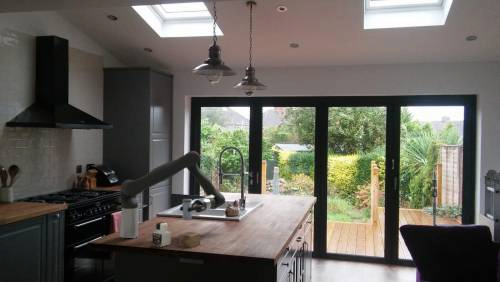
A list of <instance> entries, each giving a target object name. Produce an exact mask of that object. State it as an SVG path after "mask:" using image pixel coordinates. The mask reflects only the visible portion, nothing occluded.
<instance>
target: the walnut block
mask: <svg viewBox="0 0 500 282" xmlns="http://www.w3.org/2000/svg"><path fill="white" fill-rule="evenodd" d="M200 245H201V233H198V232H192V231H187V232H183V233H179V246H180V247H186V248H194V247H196V246H200Z"/></svg>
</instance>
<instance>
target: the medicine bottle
mask: <svg viewBox="0 0 500 282" xmlns="http://www.w3.org/2000/svg"><path fill="white" fill-rule="evenodd" d="M155 227H156V228H155V231H152V241H151V242H152V243H151V244H153V245H152V246H155V245H157V246H156V247H159V246H160V248H163V247H166V245H167V246H169V245H170V246H171V243H172V231H168V223H167V222H164V221H159V222H157V223H156V225H155ZM162 246H163V247H162Z"/></svg>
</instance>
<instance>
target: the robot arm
mask: <svg viewBox="0 0 500 282" xmlns="http://www.w3.org/2000/svg"><path fill="white" fill-rule="evenodd" d="M200 160H201V156H200V154H199V153H198V152H197V151H195V150H191V151H188V152H187V153H185V154H183V155H182V156H180V157H179V158H177V159H173V160H171V161H167V162H165V163H163V164H161V165H159V166H157V167H155V168H153V169H152V170H150V171H149V172H148V173H147V174H146V175H144V176H142V177H139V178H138V179H126V180H123V182H122V183H121V185H120V204H121V220H120V221H119V238H121V237H122V238H121V239H123V238H133V239H137V238H138V236H139V235H138V234H139V202H138V199H137V195H139V194H141V193H142V192H144V191H145V190H147V189H149V188H150V187H153V186H155V185H158V184H160V183H162V182H165V181H166V180H169V179H170V178H172V177H174V176H175V175H176V174H178V173H180V172H181V171H183V170H184V169H187V170H188V171H189V172H190V174H192V176H193V177H194V179H195V180H196V181H197V182H198V185H200V187H201V188H202V189H201V190H203V192H204V194H205V195H206V196H213V197H206V198H204V197H203V198H200V199H199V198H198V199H195V200H194V201H192V207H189V208H188V212H190V211H192V212H195V213H198V214H199V213H202V212H206V211H208V210H216V209H218V208H220V207H221V206H223V205H224V204H225V203H226V198H225V196H224V195H223V193H221V192H220V191H219V190H218V189H217V188H216V186H215V185H214V184H213V181H211V179H210V178H209V177H208V176H207V175H206V174H205V173H204V172H203V171H202V170H201V168H200V167H199V165H198V163H199V162H200ZM179 211H180V212H183V204H182V205H181V206H180V207H179ZM136 237H137V238H136Z"/></svg>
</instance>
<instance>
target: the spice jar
mask: <svg viewBox="0 0 500 282" xmlns="http://www.w3.org/2000/svg"><path fill="white" fill-rule="evenodd" d="M192 203H193V199H191V198H183V199H182V205H183V211H182V220H183V221H190V220H192V219H193V218H192V217H193V216H192V214H193V211H190V212H188V208H189V207H192Z"/></svg>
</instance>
